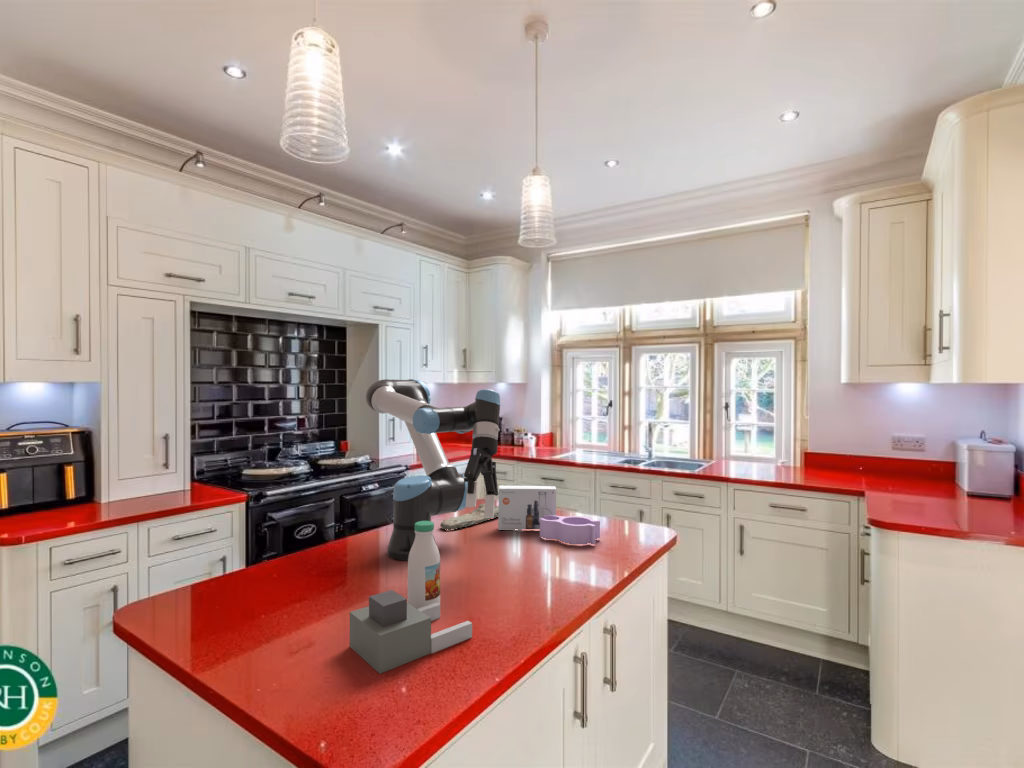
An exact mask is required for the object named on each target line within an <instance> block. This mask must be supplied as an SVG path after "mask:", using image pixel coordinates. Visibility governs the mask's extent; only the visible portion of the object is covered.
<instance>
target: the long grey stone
mask: <svg viewBox="0 0 1024 768" xmlns="http://www.w3.org/2000/svg"><path fill="white" fill-rule="evenodd" d="M484 511H485V502H484V503H480V504H479V505H478V507H477V508H475V509H473V510H472V511H471V512H469V513H465V514H461V515H458V516H454V517H451V518H448V519H443V521H442V522H441V523H440V528H442V529H446V530H447V529H448V530H451V529H456V528H460V529H463V528H462V527H465V528H468V527H467V526H470V525H473V524H476V523H479V522H483V521H486V520H488V519H491V518H484ZM497 516H498V505H496V504H495V505H494V518H496V517H497ZM496 519H497V518H496ZM486 522H487V521H486ZM473 526H474V525H473ZM442 529H441V530H442ZM456 530H457V529H456Z"/></svg>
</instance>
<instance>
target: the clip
mask: <svg viewBox="0 0 1024 768" xmlns="http://www.w3.org/2000/svg"><path fill="white" fill-rule="evenodd" d="M540 536H541V537H543V538H546V539H557V540H560V541H562V542H565V543H569V544H587V543H591V544H595V545H596V541H595V539H597V538H600V539H601V520H599V519H593V518H590V517H587V516H577V515H571V516H570V515H569V516H564V515H563V516H561V515H557V514H556V515H544V516H543V518H540V532H539V537H540Z"/></svg>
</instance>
